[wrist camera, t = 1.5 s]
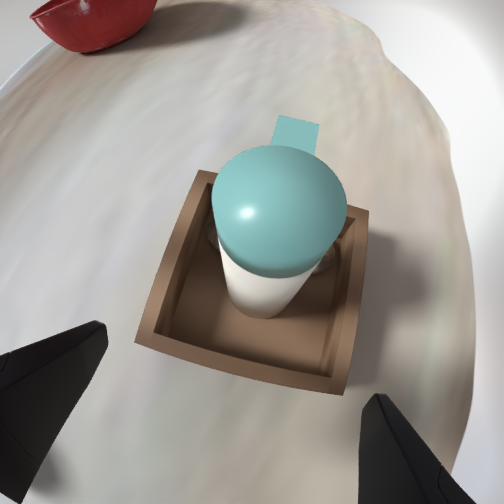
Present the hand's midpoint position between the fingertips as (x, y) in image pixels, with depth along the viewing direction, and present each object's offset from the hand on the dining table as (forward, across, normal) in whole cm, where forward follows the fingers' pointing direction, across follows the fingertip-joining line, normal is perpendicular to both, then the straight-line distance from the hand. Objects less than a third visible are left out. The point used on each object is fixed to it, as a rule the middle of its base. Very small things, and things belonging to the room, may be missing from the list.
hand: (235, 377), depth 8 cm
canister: (+12, 0, +4) cm, 13 cm away
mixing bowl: (+44, +42, -25) cm, 66 cm away
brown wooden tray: (+13, 0, +4) cm, 14 cm away
